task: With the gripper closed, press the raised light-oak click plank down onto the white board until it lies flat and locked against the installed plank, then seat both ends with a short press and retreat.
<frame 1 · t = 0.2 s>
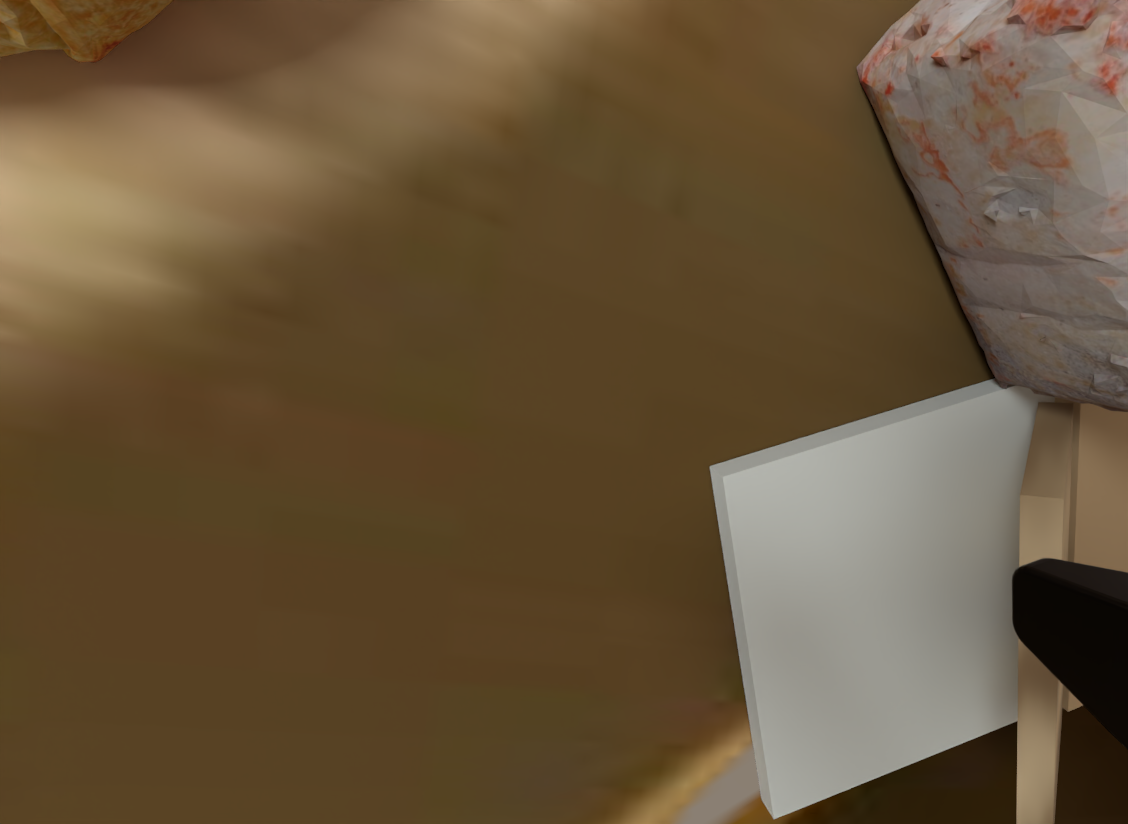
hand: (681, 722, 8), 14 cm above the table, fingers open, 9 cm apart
white board: (963, 568, 27), on the table
food item: (982, 173, 23), on the table
click plank: (1044, 626, 24), point 4 cm above the table, hinge at 40.0°
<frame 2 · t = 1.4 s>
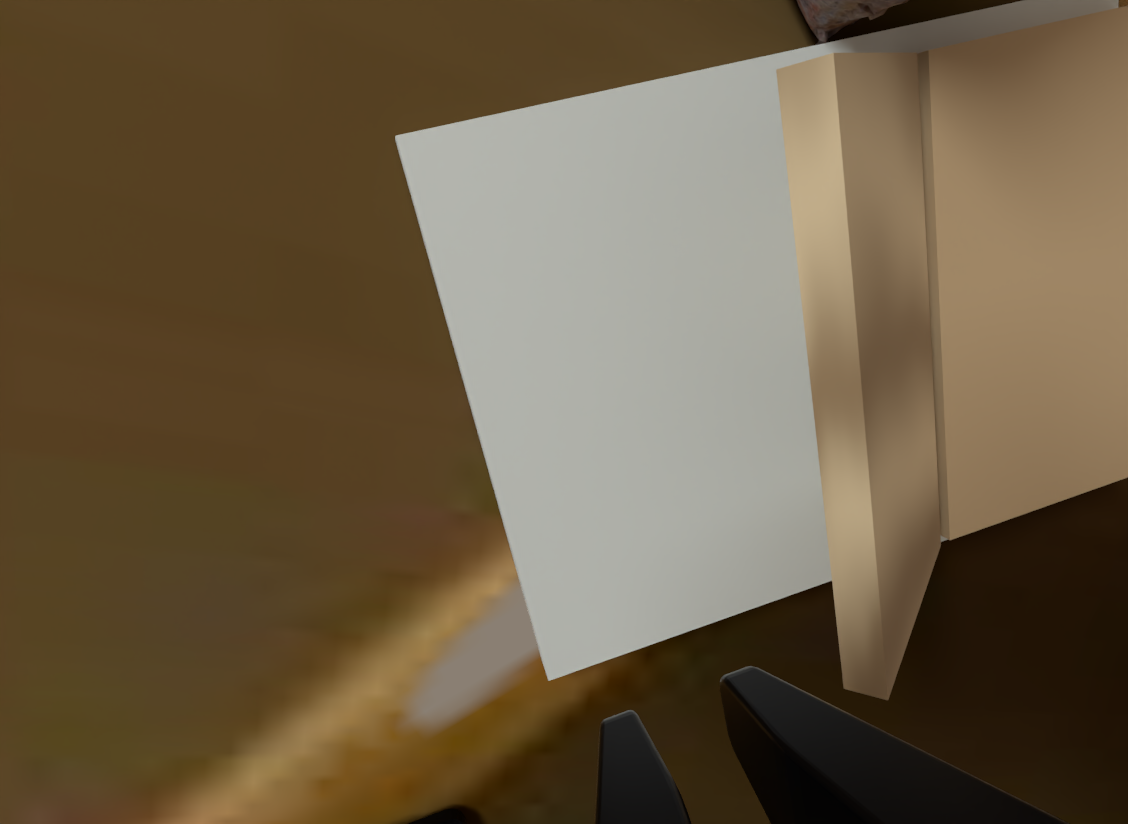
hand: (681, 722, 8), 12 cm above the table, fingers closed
white board: (801, 340, 20), on the table
click plank: (880, 370, 17), point 4 cm above the table, hinge at 40.0°
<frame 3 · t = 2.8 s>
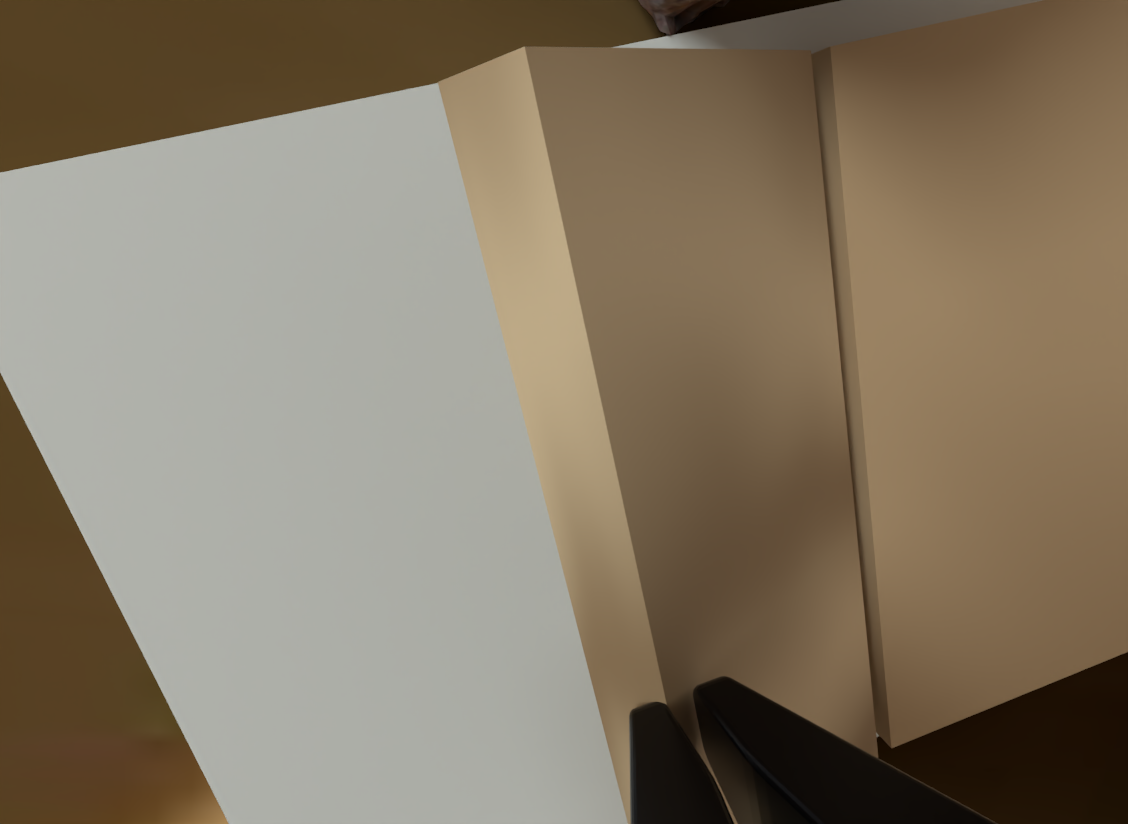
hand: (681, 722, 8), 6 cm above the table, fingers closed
white board: (671, 470, 14), on the table
click plank: (752, 564, 10), point 4 cm above the table, hinge at 39.8°, touching gripper
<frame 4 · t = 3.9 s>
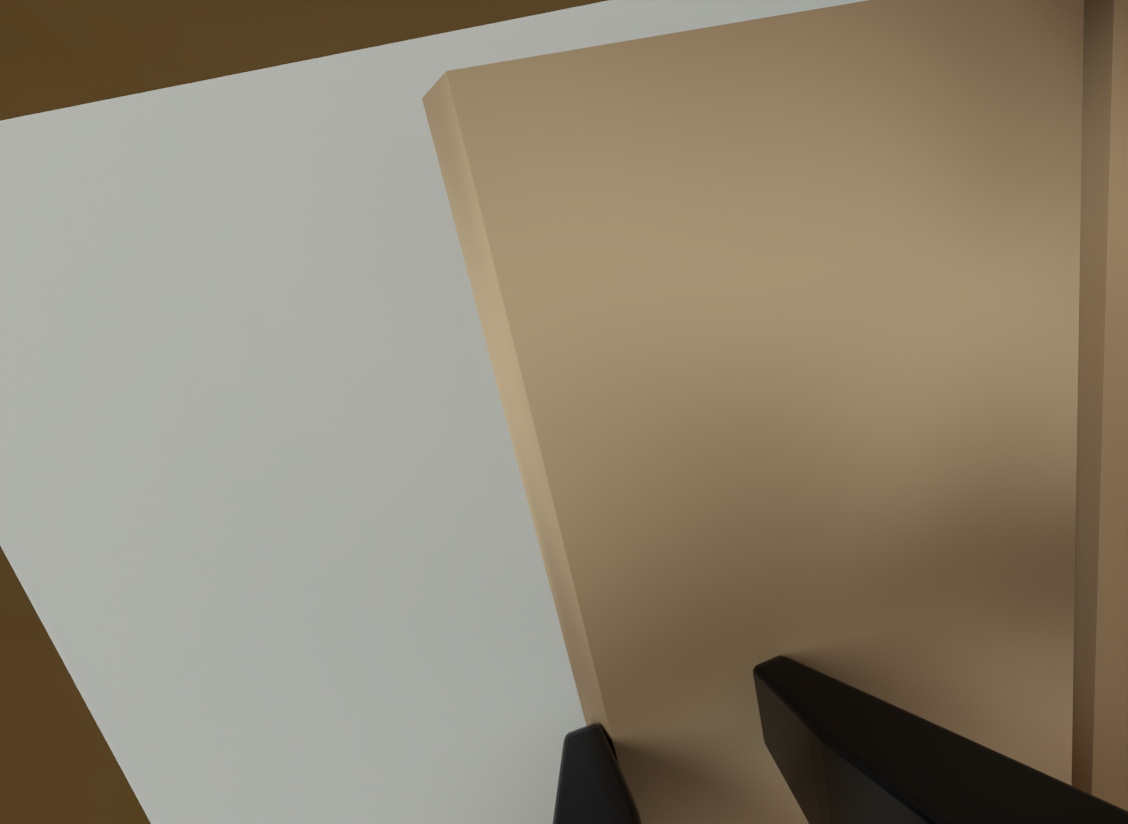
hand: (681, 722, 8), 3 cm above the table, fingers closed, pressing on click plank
white board: (814, 536, 11), on the table
click plank: (847, 628, 9), point 2 cm above the table, hinge at 10.2°, touching gripper
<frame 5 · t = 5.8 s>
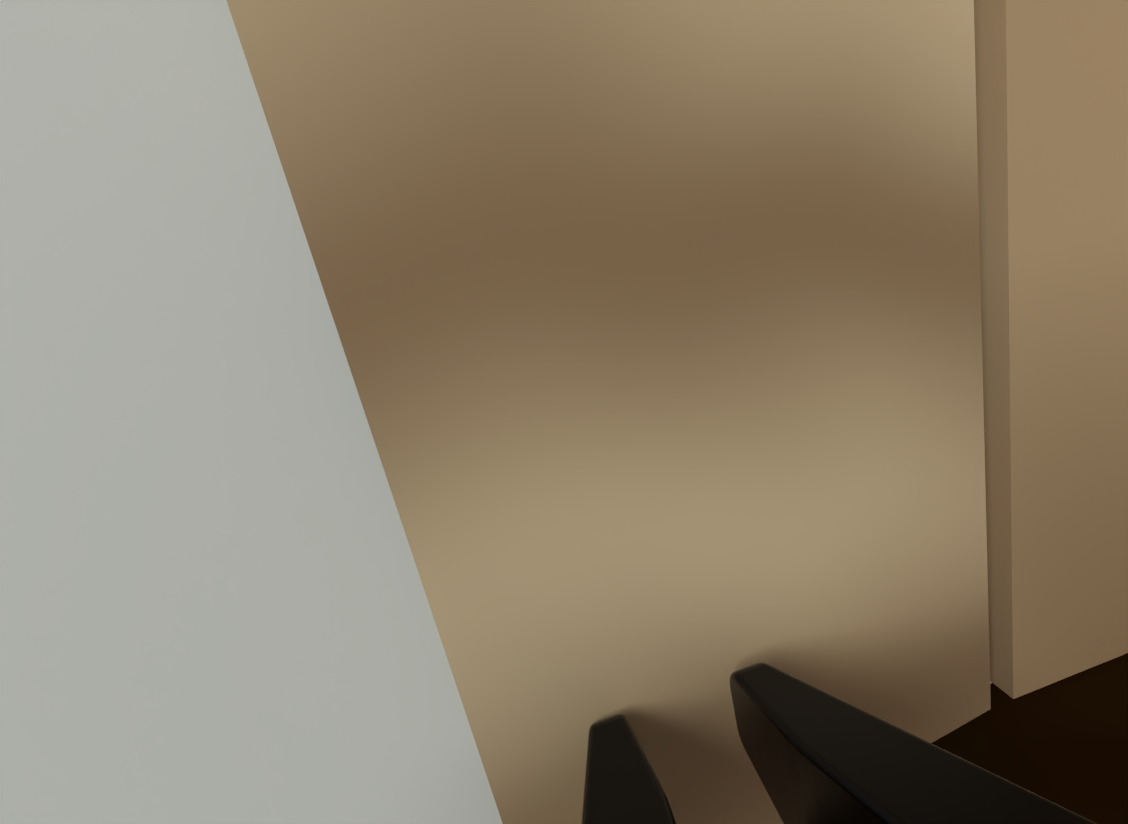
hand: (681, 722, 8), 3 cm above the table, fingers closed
white board: (687, 268, 9), on the table
click plank: (689, 300, 7), point 2 cm above the table, hinge at 7.2°, touching gripper
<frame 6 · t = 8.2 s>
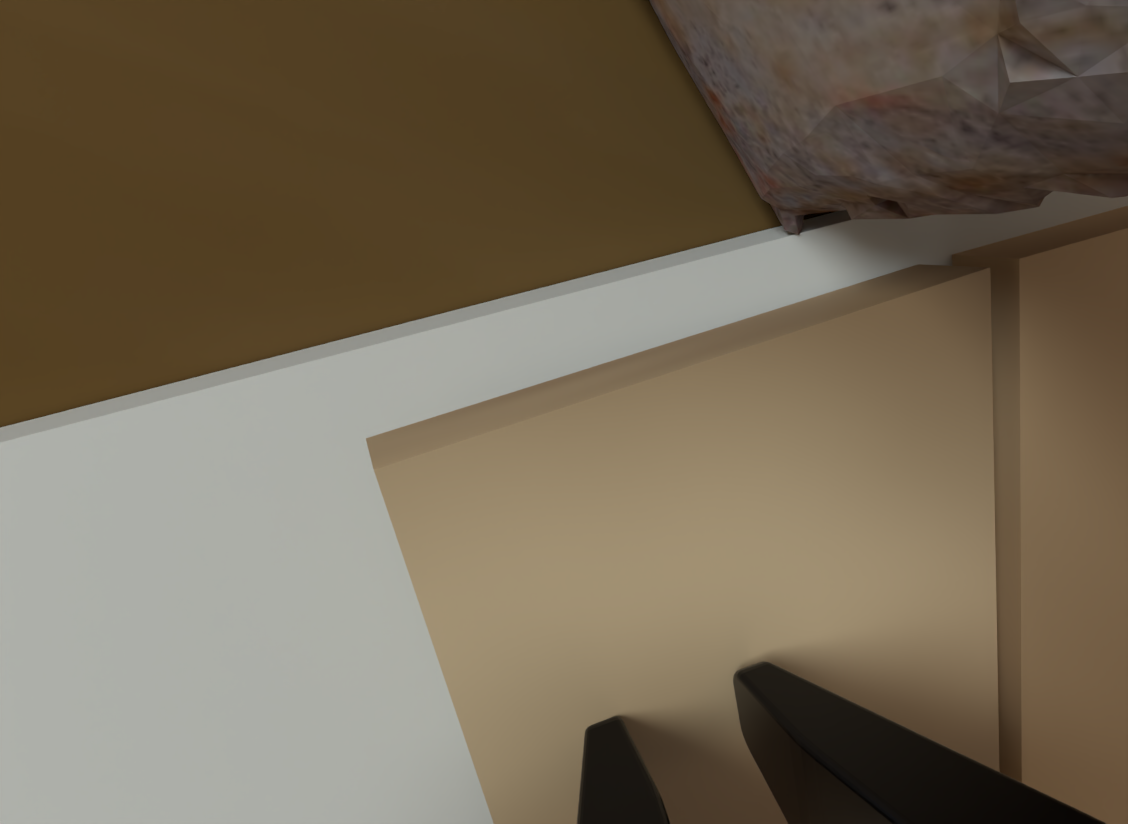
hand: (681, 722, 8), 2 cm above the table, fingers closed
white board: (760, 715, 11), on the table
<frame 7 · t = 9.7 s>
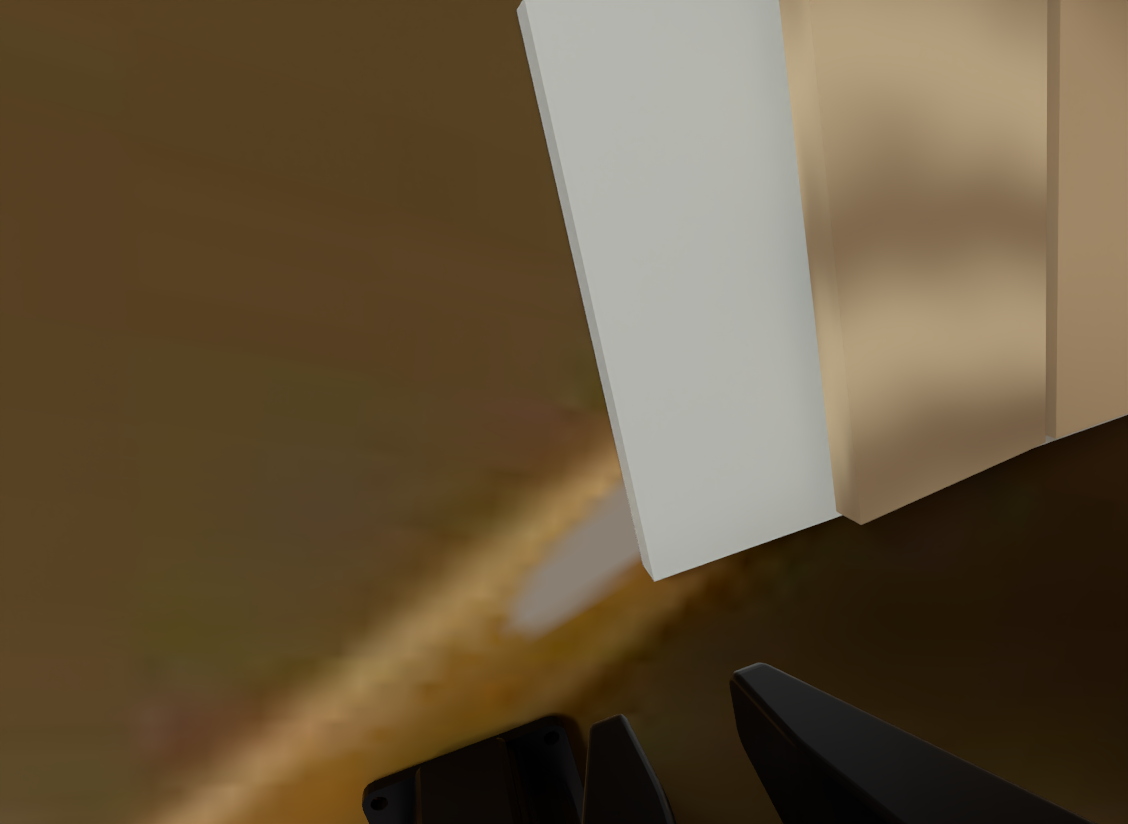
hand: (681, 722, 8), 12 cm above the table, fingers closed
white board: (908, 233, 20), on the table
click plank: (931, 243, 18), point 2 cm above the table, hinge at 6.3°
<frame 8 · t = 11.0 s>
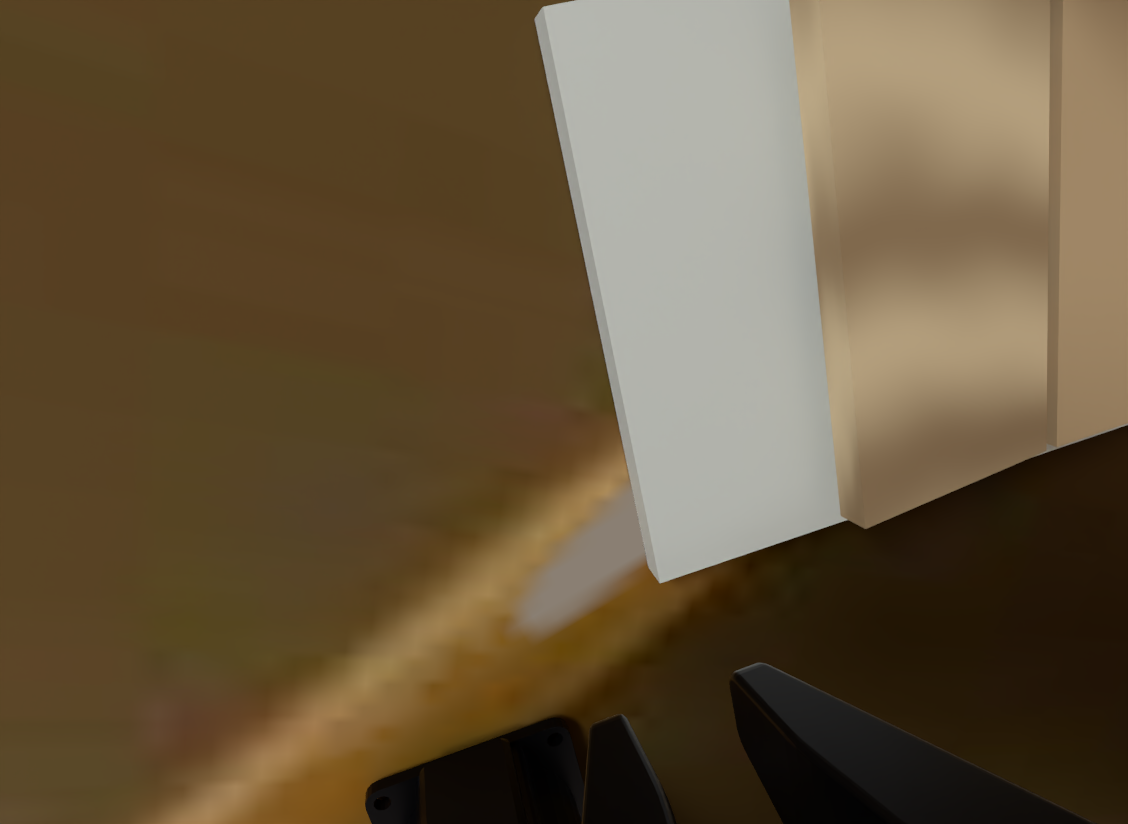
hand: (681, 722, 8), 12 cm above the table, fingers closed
white board: (912, 243, 20), on the table
click plank: (935, 253, 18), point 2 cm above the table, hinge at 6.3°
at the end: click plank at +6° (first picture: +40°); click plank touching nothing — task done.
